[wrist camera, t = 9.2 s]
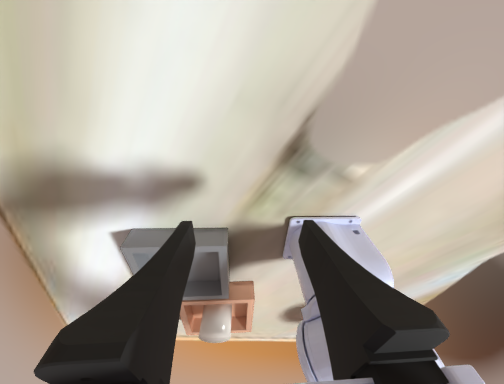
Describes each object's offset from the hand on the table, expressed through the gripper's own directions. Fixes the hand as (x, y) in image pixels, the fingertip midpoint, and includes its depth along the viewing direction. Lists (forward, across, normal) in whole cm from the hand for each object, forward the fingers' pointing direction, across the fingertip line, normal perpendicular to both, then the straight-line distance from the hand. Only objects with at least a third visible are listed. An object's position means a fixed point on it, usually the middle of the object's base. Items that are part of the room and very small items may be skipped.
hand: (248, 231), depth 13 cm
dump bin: (+9, +4, +27) cm, 29 cm away
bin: (+9, +8, +15) cm, 19 cm away
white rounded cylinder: (+9, +4, +27) cm, 29 cm away
